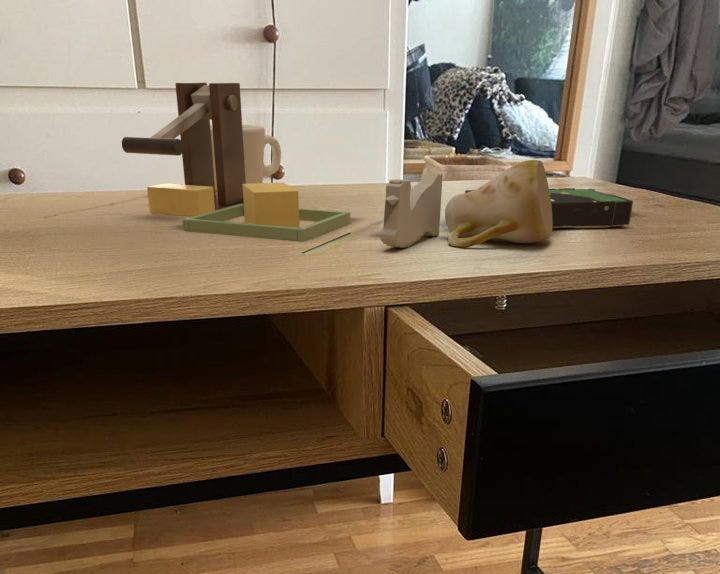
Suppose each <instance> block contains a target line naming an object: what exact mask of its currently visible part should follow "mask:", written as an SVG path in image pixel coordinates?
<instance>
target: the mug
mask: <svg viewBox="0 0 720 574" xmlns="http://www.w3.org/2000/svg"><path fill="white" fill-rule="evenodd" d="M549 189H550V186H549V181H548V177H547V173H546V169H545V166H544V163H543V162H542V160H539V159H530V160H523V161H520V162H517V163H515V164H513V165H511V166H509V167H508V168H506V169H505V170H503V171H501V172H500V173H499V174H497V175H496V176H494V177H493V178H491V179H490V180H488V181H487V182H486V183H484V184H482V185H481V186H479V187H478V188H476V189H473V190H474V191H471V192H467V193H465V192H464V193H460V194H456V195H454V196H452V197H451V198H450V199H449V201H448V202H447V204H446V206H445V208H444V220H445V224H446V226H447V228H448V230H449V232H450V233H449V235H448V237H447V243H448V244H449V245H450V246H453V247H457V248H458V247H459V248H471V247H474V246H476V245H479V244H482V243H484V242H487V241H488V240H492V239H497V240H501V241H507V242H510V243H515V244H534V243H539V242H541V241H544V240H548V239H549V240H550V238H551V237H552V235H553V229H554V228H553V227H552V226H553V219H552V204H551V198H550V192H549Z"/></svg>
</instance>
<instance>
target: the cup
mask: <svg viewBox="0 0 720 574" xmlns="http://www.w3.org/2000/svg"><path fill="white" fill-rule="evenodd" d="M210 130H211V142H212V155H213V168H214V181H215V192H217V182H216V169H215V156H214V143H213V130H212V124H210ZM242 130H243V146H244V163H245V180H246V184H252V183H263V179H264V177H268V176H272V175H273V174H275V173H277V171H278V170H279V168H280V165H281V160H282V150H281V145H280V142H279V141H278V139H277V138H276V137H274V136H272V135H269V134H266V129H265V127H264V126H262V125H255V124H242ZM268 144H269V146H270V148H271V153H272V157H271V158H272V159H271V163H270V165H269V166H268V167H266V165H265V162H264V159H265V158H264V156H265V147H266V145H268Z"/></svg>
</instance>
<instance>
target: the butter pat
mask: <svg viewBox="0 0 720 574" xmlns="http://www.w3.org/2000/svg"><path fill="white" fill-rule="evenodd" d="M299 199H300V198H299V190H298V189H296V188H294V187H293V186H291V185H289V184H287V183H285V182H262V183H252V184H243V200H244V216H243V217H244V223H248V224H260V225H272V226H284V227H296V228H300V220H299V208H300V205H299V204H300V202H299Z"/></svg>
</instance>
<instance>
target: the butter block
mask: <svg viewBox="0 0 720 574" xmlns="http://www.w3.org/2000/svg"><path fill="white" fill-rule="evenodd" d="M146 189H147V190H146V191H147V198H148V207H149V213H150V214H160V215H171V216H182V217H183V216H185V217H193V216H197V215H201V214H205V213H208V212H212V211H215V203H214V191H213V187H209V186H194V185H185V184H178V183H159V184H155V185H150V186H147V187H146Z"/></svg>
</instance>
